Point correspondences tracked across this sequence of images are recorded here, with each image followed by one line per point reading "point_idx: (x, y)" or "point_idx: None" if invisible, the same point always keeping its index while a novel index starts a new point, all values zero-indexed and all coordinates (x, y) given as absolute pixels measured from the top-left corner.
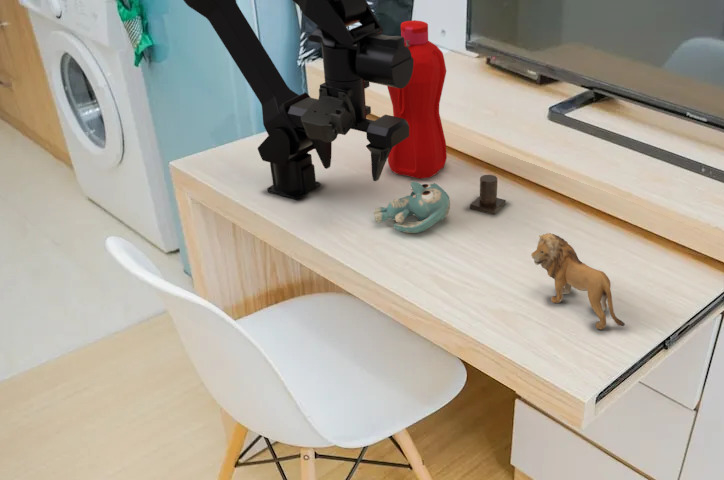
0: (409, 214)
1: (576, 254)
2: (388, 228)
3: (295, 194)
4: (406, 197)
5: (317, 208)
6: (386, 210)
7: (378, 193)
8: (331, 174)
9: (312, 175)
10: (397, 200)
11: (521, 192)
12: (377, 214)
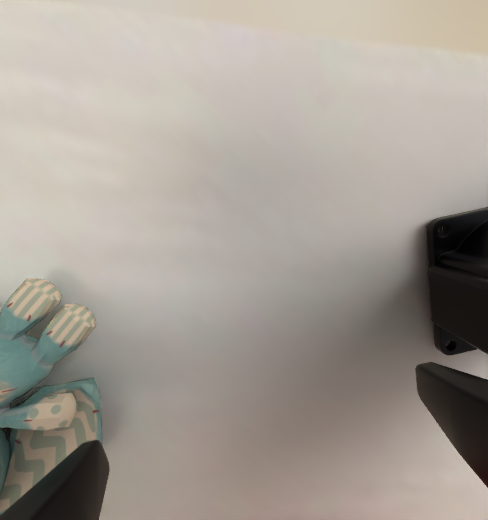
0: (24, 403)
1: None
2: None
3: (456, 234)
4: None
5: (330, 230)
6: (34, 346)
7: (249, 438)
8: None
9: (474, 329)
10: (37, 422)
11: None
12: (25, 295)
